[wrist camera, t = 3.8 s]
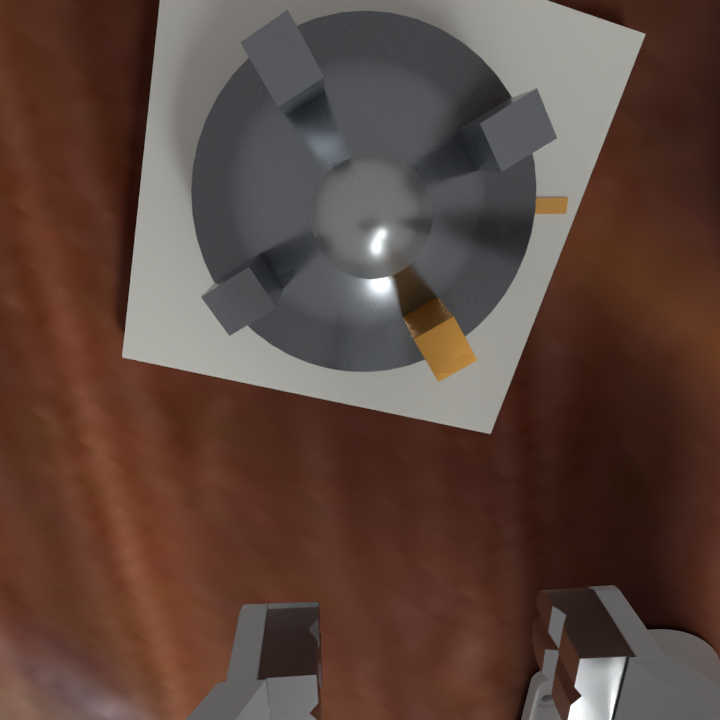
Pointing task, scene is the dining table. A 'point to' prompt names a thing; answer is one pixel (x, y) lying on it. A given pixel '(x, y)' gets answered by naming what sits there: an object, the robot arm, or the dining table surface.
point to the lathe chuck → (365, 191)
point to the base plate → (549, 232)
